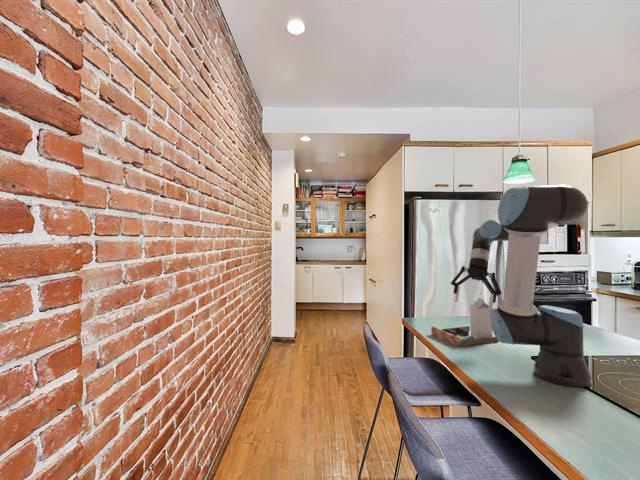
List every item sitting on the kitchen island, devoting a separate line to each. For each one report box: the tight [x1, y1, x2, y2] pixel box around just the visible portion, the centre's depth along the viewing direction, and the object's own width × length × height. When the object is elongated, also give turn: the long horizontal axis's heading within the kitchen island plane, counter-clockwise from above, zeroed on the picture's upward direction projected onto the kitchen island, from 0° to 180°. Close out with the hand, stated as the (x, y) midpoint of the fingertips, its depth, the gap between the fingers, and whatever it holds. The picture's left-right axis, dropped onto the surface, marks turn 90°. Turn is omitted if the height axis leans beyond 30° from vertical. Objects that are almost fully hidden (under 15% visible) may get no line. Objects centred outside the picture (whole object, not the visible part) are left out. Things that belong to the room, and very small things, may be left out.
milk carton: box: [469, 296, 494, 339], centre depth 145 cm, size 7×7×19 cm
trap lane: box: [431, 325, 500, 348], centre depth 145 cm, size 19×22×4 cm
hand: (472, 305), depth 132 cm, fingers open, 13 cm apart
